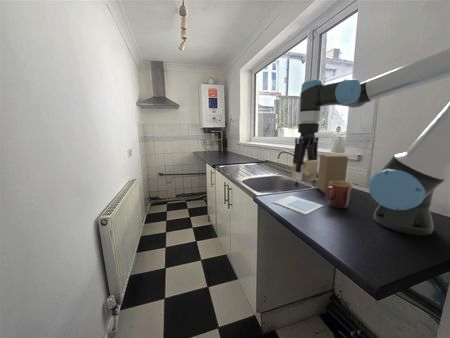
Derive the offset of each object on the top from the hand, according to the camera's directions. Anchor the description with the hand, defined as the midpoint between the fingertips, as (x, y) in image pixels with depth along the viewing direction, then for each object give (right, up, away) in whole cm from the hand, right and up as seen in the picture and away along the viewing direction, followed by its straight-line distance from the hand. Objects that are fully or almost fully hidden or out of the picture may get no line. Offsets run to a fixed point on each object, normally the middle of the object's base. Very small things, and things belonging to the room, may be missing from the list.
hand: (304, 178), depth 79 cm
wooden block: (+23, -8, +22) cm, 33 cm away
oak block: (0, 0, 0) cm, 0 cm away
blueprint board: (-1, -12, +4) cm, 13 cm away
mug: (+14, -13, +2) cm, 19 cm away
